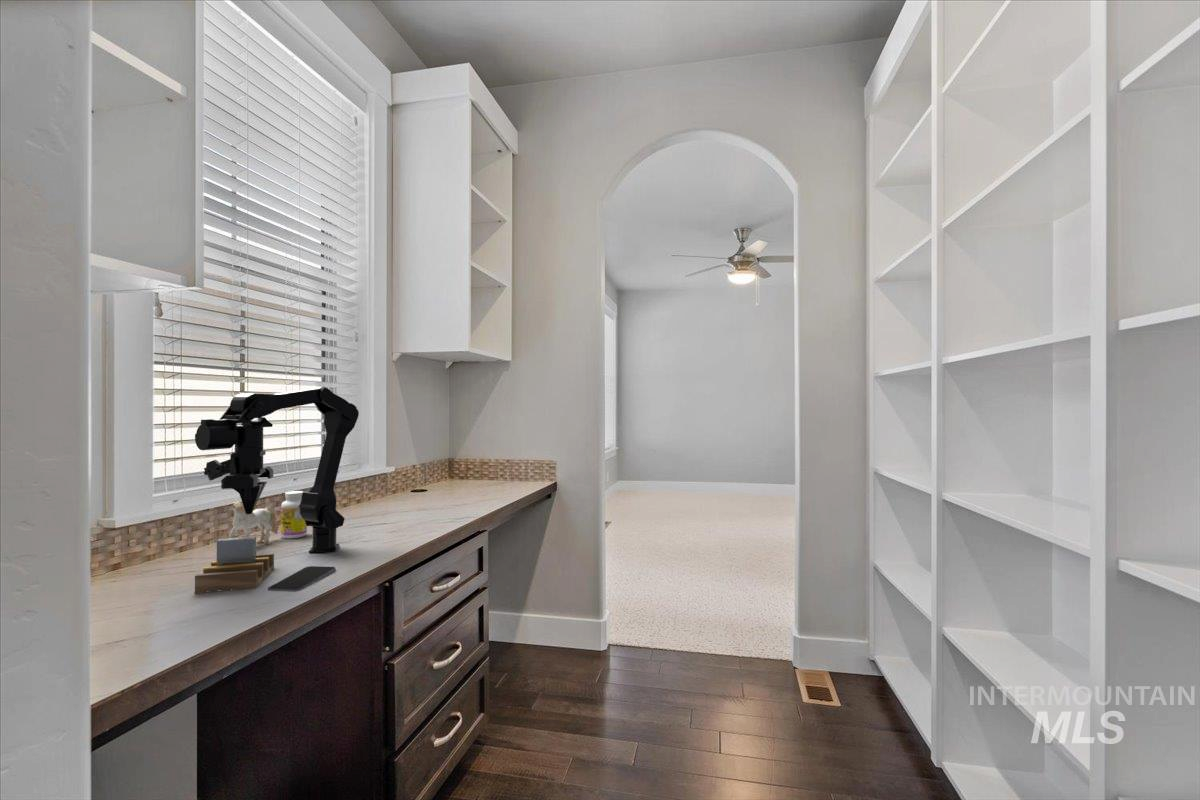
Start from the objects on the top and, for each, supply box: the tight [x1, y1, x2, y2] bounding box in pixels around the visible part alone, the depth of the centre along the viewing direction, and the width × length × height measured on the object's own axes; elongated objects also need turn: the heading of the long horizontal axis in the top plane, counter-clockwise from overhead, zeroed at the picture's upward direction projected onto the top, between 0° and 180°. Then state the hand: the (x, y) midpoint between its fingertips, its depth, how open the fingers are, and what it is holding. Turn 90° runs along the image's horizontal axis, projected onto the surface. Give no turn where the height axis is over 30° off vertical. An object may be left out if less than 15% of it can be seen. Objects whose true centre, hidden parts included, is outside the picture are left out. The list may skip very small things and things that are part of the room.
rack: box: [194, 552, 275, 594], centre depth 125 cm, size 15×11×4 cm
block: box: [216, 536, 257, 566], centre depth 125 cm, size 2×7×8 cm, turn 107°
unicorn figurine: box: [228, 501, 280, 546], centre depth 152 cm, size 7×20×13 cm, turn 6°
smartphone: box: [267, 565, 336, 592], centre depth 125 cm, size 7×1×15 cm
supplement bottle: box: [280, 490, 308, 540], centre depth 165 cm, size 7×7×13 cm
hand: (249, 513), depth 133 cm, fingers closed
